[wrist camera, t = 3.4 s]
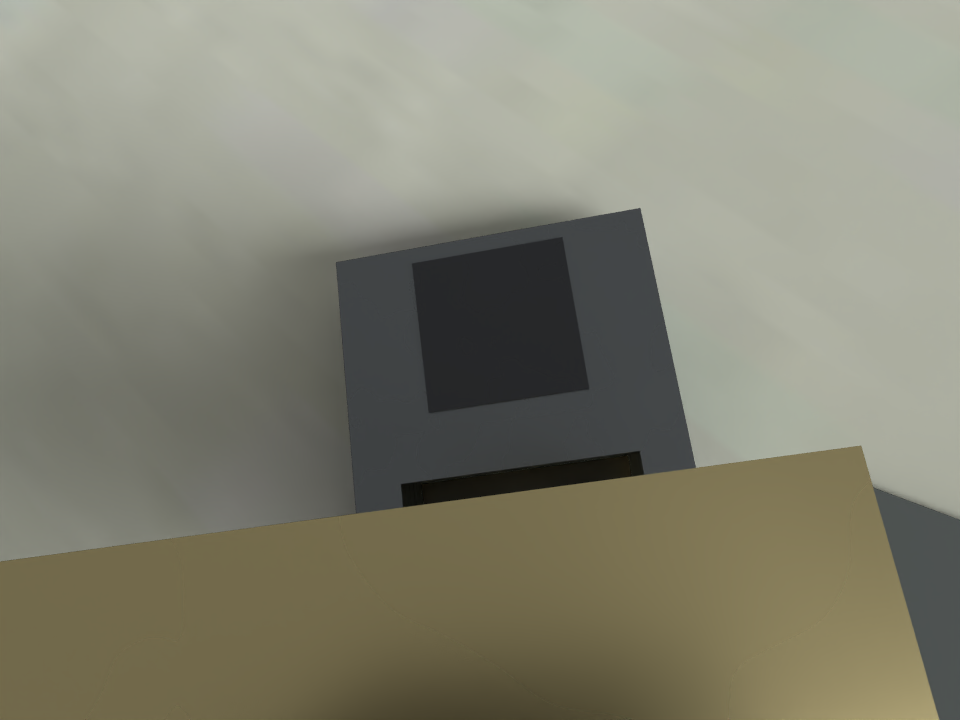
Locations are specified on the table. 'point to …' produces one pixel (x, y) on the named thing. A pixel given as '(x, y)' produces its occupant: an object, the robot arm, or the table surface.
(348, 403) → the grey tray
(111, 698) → the tan rectangular block
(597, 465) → the table surface
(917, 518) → the rubber pad
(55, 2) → the table surface
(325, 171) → the table surface
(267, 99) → the table surface
